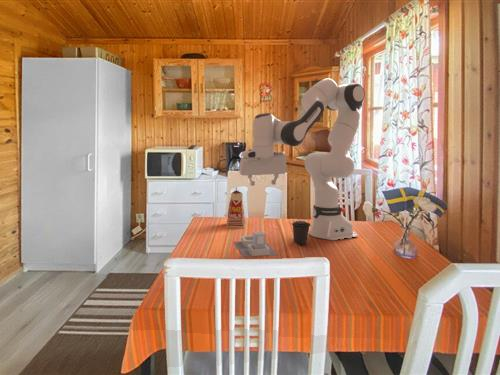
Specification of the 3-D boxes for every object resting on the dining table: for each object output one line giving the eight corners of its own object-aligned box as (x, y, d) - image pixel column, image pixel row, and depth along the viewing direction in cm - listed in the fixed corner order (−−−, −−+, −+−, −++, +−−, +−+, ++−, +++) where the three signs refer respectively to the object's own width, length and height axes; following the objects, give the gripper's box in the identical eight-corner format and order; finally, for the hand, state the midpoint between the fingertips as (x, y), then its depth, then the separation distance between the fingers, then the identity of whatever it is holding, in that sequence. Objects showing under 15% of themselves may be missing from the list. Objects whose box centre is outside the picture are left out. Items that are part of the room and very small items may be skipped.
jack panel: (264, 242, 177) (264, 234, 176) (278, 257, 158) (278, 248, 157) (232, 244, 173) (233, 236, 173) (243, 259, 154) (243, 250, 154)
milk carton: (244, 228, 200) (245, 188, 197) (226, 227, 201) (226, 188, 197) (245, 223, 209) (246, 185, 206) (227, 223, 210) (228, 185, 206)
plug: (261, 250, 162) (262, 231, 161) (265, 254, 158) (265, 234, 156) (252, 251, 161) (252, 232, 160) (255, 255, 157) (256, 235, 155)
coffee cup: (290, 241, 180) (291, 219, 178) (308, 241, 180) (309, 220, 178) (291, 246, 172) (292, 224, 170) (310, 247, 172) (311, 224, 170)
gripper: (283, 151, 175) (283, 182, 177) (238, 152, 169) (238, 184, 172) (289, 152, 169) (288, 184, 171) (241, 153, 163) (242, 187, 166)
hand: (263, 184), depth 171 cm, fingers open, 8 cm apart
